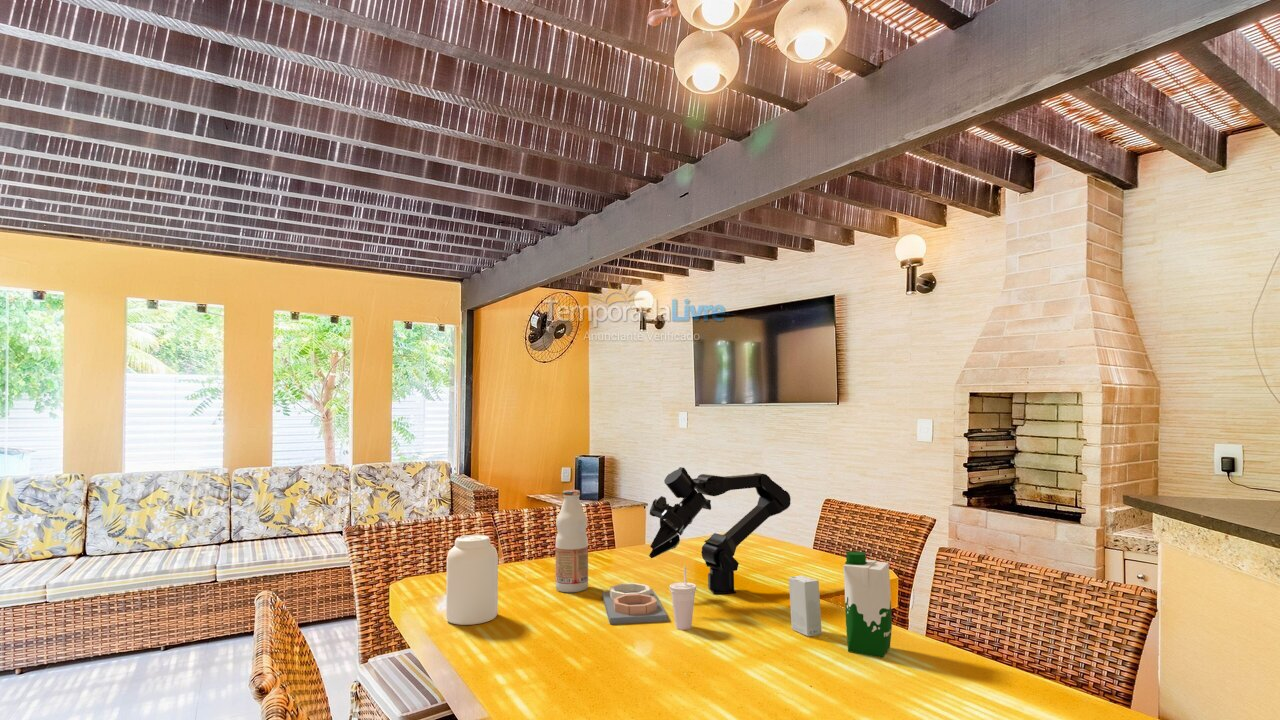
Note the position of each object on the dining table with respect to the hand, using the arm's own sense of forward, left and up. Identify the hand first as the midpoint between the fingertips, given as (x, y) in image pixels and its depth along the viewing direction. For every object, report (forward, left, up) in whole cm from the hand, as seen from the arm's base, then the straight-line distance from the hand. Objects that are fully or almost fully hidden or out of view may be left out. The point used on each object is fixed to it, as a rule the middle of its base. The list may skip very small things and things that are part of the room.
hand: (650, 552), depth 178 cm
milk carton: (-41, +42, -13) cm, 60 cm away
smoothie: (-4, +21, -13) cm, 25 cm away
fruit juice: (+21, -18, -13) cm, 30 cm away
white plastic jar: (+46, +5, -13) cm, 48 cm away
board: (+6, +4, -13) cm, 15 cm away
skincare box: (-32, +29, -13) cm, 45 cm away
